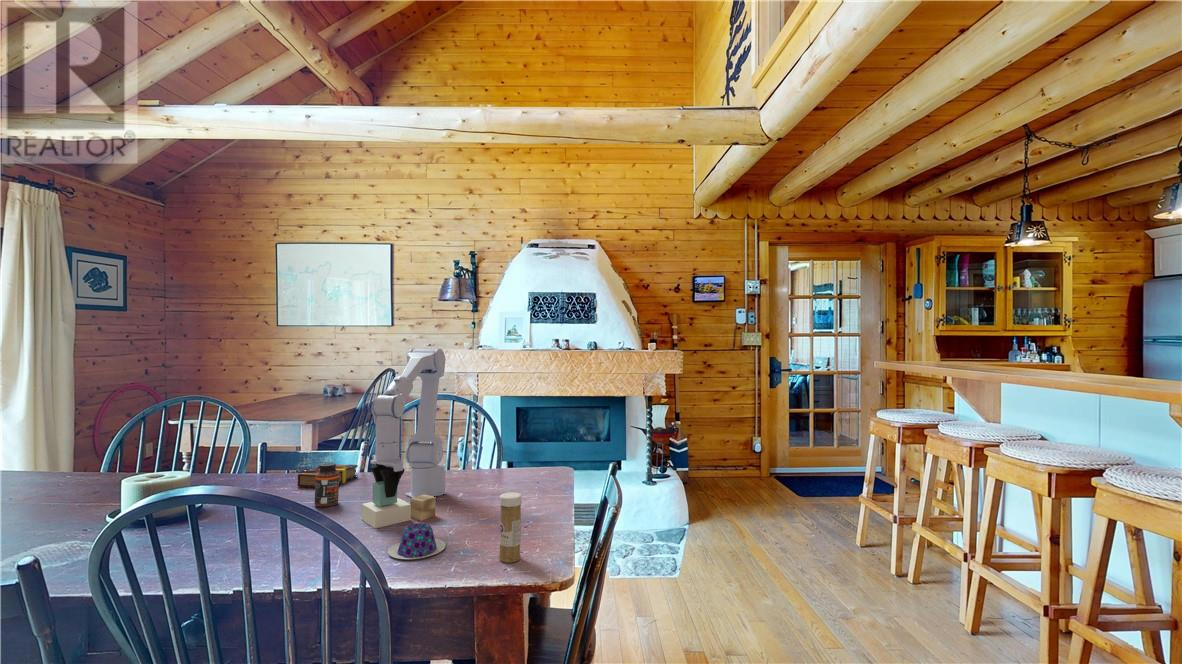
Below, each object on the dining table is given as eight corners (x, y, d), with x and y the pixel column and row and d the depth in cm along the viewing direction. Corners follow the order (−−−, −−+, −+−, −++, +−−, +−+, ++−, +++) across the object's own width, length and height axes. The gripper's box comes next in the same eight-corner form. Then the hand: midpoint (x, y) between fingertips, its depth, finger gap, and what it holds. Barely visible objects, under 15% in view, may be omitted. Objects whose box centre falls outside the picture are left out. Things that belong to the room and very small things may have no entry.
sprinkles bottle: (494, 559, 107) (495, 494, 107) (511, 553, 110) (511, 490, 110) (508, 565, 104) (509, 499, 104) (525, 558, 107) (526, 494, 108)
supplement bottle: (328, 508, 140) (329, 467, 140) (309, 507, 141) (310, 465, 141) (343, 502, 145) (344, 462, 146) (324, 500, 147) (325, 461, 147)
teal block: (389, 498, 134) (390, 479, 134) (397, 502, 130) (397, 483, 131) (372, 502, 131) (372, 482, 131) (379, 506, 127) (379, 486, 127)
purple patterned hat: (391, 567, 103) (392, 541, 103) (384, 546, 114) (384, 523, 114) (451, 555, 109) (451, 531, 109) (438, 537, 120) (439, 515, 120)
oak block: (423, 513, 136) (423, 494, 137) (435, 516, 134) (435, 496, 134) (409, 517, 133) (410, 498, 133) (421, 520, 130) (421, 501, 130)
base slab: (395, 511, 137) (396, 496, 137) (410, 520, 131) (410, 504, 131) (361, 519, 131) (361, 503, 131) (375, 528, 124) (375, 512, 124)
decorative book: (296, 488, 160) (296, 472, 160) (329, 475, 176) (329, 461, 176) (329, 490, 159) (329, 473, 159) (359, 477, 175) (360, 462, 175)
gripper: (361, 439, 134) (360, 491, 133) (383, 447, 123) (382, 504, 123) (387, 436, 139) (386, 486, 138) (411, 444, 128) (410, 498, 128)
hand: (386, 494), depth 131 cm, fingers closed on teal block, 4 cm apart
